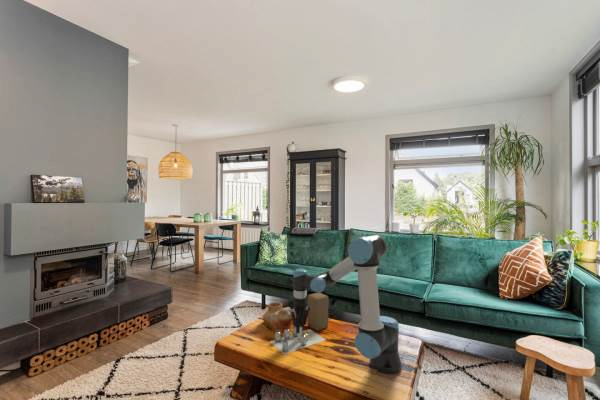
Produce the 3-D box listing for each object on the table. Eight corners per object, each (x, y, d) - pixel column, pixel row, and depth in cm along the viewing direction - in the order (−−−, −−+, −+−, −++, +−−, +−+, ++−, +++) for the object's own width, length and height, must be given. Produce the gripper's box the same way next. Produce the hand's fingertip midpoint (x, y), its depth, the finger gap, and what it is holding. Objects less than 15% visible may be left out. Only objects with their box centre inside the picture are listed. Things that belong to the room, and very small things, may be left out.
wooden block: (319, 321, 193) (319, 291, 193) (328, 327, 185) (329, 296, 185) (306, 325, 187) (307, 294, 187) (316, 331, 179) (316, 299, 179)
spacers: (310, 344, 162) (310, 335, 162) (284, 353, 152) (284, 343, 152) (296, 334, 173) (296, 325, 173) (271, 341, 164) (271, 333, 164)
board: (326, 341, 167) (326, 339, 167) (284, 356, 151) (284, 354, 151) (309, 330, 180) (309, 329, 180) (269, 343, 164) (269, 341, 164)
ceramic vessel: (280, 339, 169) (281, 313, 169) (258, 323, 190) (259, 300, 190) (299, 332, 177) (300, 308, 177) (276, 318, 198) (277, 296, 198)
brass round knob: (310, 339, 167) (310, 334, 167) (303, 341, 164) (304, 336, 164) (304, 335, 171) (305, 330, 171) (298, 338, 168) (298, 333, 168)
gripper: (305, 292, 172) (304, 332, 173) (286, 297, 165) (286, 338, 165) (313, 296, 166) (312, 337, 167) (294, 301, 159) (293, 344, 159)
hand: (299, 337), depth 166 cm, fingers closed
